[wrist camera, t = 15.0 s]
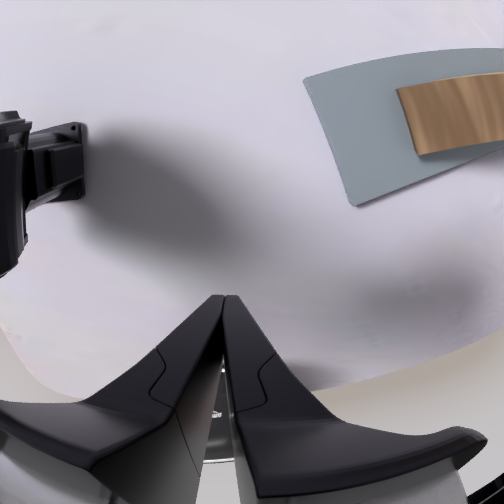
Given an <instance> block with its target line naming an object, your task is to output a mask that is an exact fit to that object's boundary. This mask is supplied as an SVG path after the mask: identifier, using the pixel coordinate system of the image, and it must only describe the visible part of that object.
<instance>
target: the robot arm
mask: <svg viewBox="0 0 504 504" xmlns="http://www.w3.org/2000/svg"><path fill="white" fill-rule="evenodd" d="M74 126H76V129H75V130H74ZM31 128H32V121H25V119H21V118H20V117H19V115H18V112H17V111H4V112H0V278H2V277H3V276H4V275H6V274H7V273H8V272H9V271H11V270H12V269H13V268H14V267H15V266H16V265H17V264H18V258H19V256H20V255H21V253H22V251H23V250H24V246H25V245H26V243H27V242H28V234H27V233H26V218H25V213H27V212H28V211H30V210H32V209H34V208H36V207H38V206H40V205H42V204H44V203H46V202H54V201H66V200H79V199H81V198H83V197H84V196H85V186H84V176H83V175H84V167H83V153H82V145H81V125H80V123H79V122H71V123H67V124H63V125H59V126H55V127H51V128H47V129H44V130H40V131H37V132H33V133H30V130H31ZM29 133H30V134H29ZM78 191H80V195H79V194H78ZM223 357H224V370H225V380H226V390H227V400H228V409H229V418H230V427H231V436H232V444H233V452H234V460H235V467H236V474H237V480H238V488H239V496H240V502H241V504H504V473H503V474H501V475H500V476H499V477H497V478H496V479H495V480H493V481H492V482H490V483H489V484H487V485H485V486H484V487H482V488H481V489H479V490H478V491H476V492H474V493H473V494H471V495H469V496H468V497H467V496H466V493H465V490H464V487H463V484H462V482H461V479H460V476H459V474H458V470H459V469H460V468H461V467H463V466H464V465H465V464H466V463H467V462H469V461H470V460H471V459H472V458H473V457H475V456H476V455H477V454H478V453H479V452H480V451H481V450H482V449H483V448H484V447H485V446H486V444H487V441H488V440H487V438H486V437H485V436H484V435H482V434H481V433H480V432H478V431H476V430H473V429H469V428H464V427H460V426H455V427H450V428H447V429H444V430H442V431H439V432H436V433H432V434H428V435H416V436H415V435H403V434H397V433H392V432H386V431H381V430H377V429H372V428H367V427H363V426H359V425H354V424H350V423H347V422H345V421H343V420H341V419H339V418H337V417H336V416H335V415H333V414H332V413H331V412H330V411H329V410H328V409H327V408H326V407H325V406H324V405H323V404H322V403H320V401H319V400H318V399H316V397H315V396H314V395H313V394H311V392H310V391H309V390H308V389H307V388H306V387H305V386H304V385H303V384H302V383H301V382H300V381H299V380H298V379H297V378H296V377H295V376H294V374H293V373H292V372H291V371H290V370H289V368H288V367H287V366H286V364H285V363H284V362H283V360H282V359H281V357H280V356H279V355H278V354H277V352H276V350H275V349H274V348H273V346H272V345H271V343H270V342H269V340H268V339H267V337H266V336H265V335H264V333H263V332H262V330H261V329H260V327H259V326H258V324H257V323H256V321H255V320H254V318H253V317H252V315H251V314H250V312H249V311H248V310H247V308H246V307H245V305H244V304H243V302H242V301H241V299H240V298H239V296H237V295H226V296H224V295H212V296H210V297H209V298H208V299H207V300H206V301H205V302H204V303H203V304H202V305H201V306H200V307H198V308H197V309H196V310H195V311H194V312H193V313H192V314H191V315H190V316H189V317H188V318H186V319H185V320H184V321H183V322H182V323H181V324H180V325H179V326H178V327H177V328H176V329H175V330H173V331H172V332H171V333H170V334H169V335H168V336H167V337H166V338H165V339H164V340H163V341H161V342H160V343H159V344H158V345H157V346H156V347H155V348H154V349H153V350H152V351H150V352H149V353H148V354H147V355H146V356H145V357H144V358H143V359H141V360H140V361H139V362H138V363H137V364H135V365H134V366H133V367H131V368H130V369H129V370H128V371H126V372H125V373H124V374H122V375H121V376H119V377H118V378H117V379H115V380H114V381H112V382H111V383H109V384H108V385H107V386H105V387H104V388H102V389H101V390H99V391H98V392H97V393H95V394H94V395H92V396H90V397H89V398H87V399H85V400H82V401H79V402H74V403H21V402H9V401H4V400H0V504H195V502H196V497H197V492H198V486H199V482H200V476H201V471H202V466H203V461H204V456H205V450H206V445H207V440H208V435H209V430H210V425H211V420H212V415H213V410H214V405H215V400H216V395H217V390H218V385H219V380H220V375H221V370H222V364H223Z"/></svg>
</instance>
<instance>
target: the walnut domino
mask: <svg viewBox="0 0 504 504" xmlns="http://www.w3.org/2000/svg"><path fill="white" fill-rule="evenodd" d="M395 90H396V93H397V95H398V98H399V101H400V104H401V107H402V110H403V113H404V116H405V119H406V122H407V125H408V128H409V132H410V135H411V139H412V142H413V146H414V150H415V152H416V153H417V154H418V155H422V154H427V153H431V152H436V151H441V150H447V149H452V148H457V147H463V146H468V145H474V144H480V143H486V142H492V141H499V140H504V73H499V74H486V75H476V76H467V77H459V78H452V79H446V80H439V81H433V82H428V83H422V84H417V85H412V86H407V87H403V88H398V89H395Z"/></svg>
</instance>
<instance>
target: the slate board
mask: <svg viewBox="0 0 504 504" xmlns="http://www.w3.org/2000/svg"><path fill="white" fill-rule="evenodd" d="M495 72H504V49H500V48H470V49H450V50H438V51H428V52H420V53H412V54H405V55H399V56H393V57H387V58H382V59H377V60H372V61H367V62H363V63H358V64H354V65H350V66H346V67H342V68H338V69H334V70H331V71H327V72H323V73H320V74H317V75H313V76H310V77H307V78H305V79H303V82H304V85H305V87H306V89H307V91H308V93H309V96H310V98H311V100H312V103H313V105H314V107H315V110H316V112H317V114H318V117H319V119H320V122H321V124H322V127H323V129H324V132H325V134H326V137H327V140H328V142H329V145H330V147H331V150H332V153H333V156H334V158H335V161H336V164H337V167H338V170H339V173H340V176H341V178H342V181H343V184H344V188H345V191H346V194H347V197H348V200H349V203H350V204H351V205H353V206H356V205H359V204H361V203H364V202H366V201H369V200H371V199H374V198H376V197H379V196H381V195H384V194H386V193H389V192H391V191H394V190H396V189H399V188H402V187H404V186H407V185H409V184H412V183H414V182H417V181H419V180H422V179H424V178H427V177H429V176H432V175H435V174H437V173H440V172H442V171H445V170H447V169H450V168H453V167H455V166H458V165H460V164H463V163H465V162H468V161H470V160H473V159H476V158H478V157H481V156H483V155H486V154H488V153H491V152H494V151H496V150H499V149H501V148H504V140H499V141H492V142H486V143H480V144H474V145H468V146H463V147H457V148H452V149H447V150H441V151H436V152H431V153H427V154H422V155H418V154H417V153H416V152H415V150H414V146H413V142H412V139H411V135H410V132H409V128H408V125H407V122H406V119H405V116H404V113H403V110H402V107H401V104H400V101H399V98H398V95H397V93H396V90H395V89H398V88H403V87H407V86H412V85H417V84H422V83H428V82H432V81H435V80H441V79H448V78H454V77H462V76H469V75H478V74H488V73H495Z"/></svg>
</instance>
